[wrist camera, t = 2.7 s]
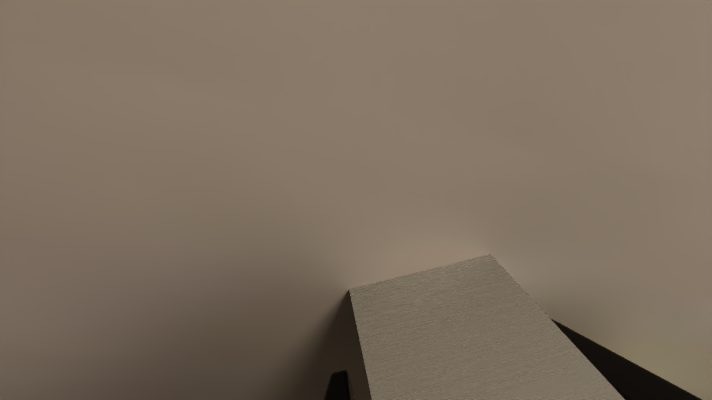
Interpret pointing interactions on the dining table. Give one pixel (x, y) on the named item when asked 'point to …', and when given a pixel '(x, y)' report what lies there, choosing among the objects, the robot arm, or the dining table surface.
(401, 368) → the block
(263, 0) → the dining table surface
